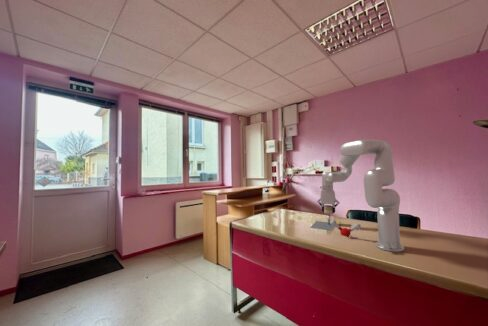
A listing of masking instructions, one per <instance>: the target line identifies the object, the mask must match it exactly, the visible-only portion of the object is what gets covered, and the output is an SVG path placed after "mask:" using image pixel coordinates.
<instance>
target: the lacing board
mask: <svg viewBox="0 0 488 326" xmlns="http://www.w3.org/2000/svg"><path fill="white" fill-rule="evenodd" d="M336 224H338V223H337V222H336ZM335 228H336V226H332V225H329V224H328V221H320V220H316V221H315V222H314V223H313V224H312V225H311V226H310V227H309V229H316V230H324V231H332V232H333V231H334V229H335Z"/></svg>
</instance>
